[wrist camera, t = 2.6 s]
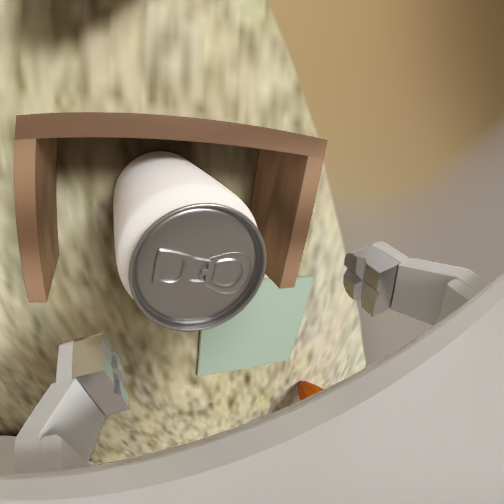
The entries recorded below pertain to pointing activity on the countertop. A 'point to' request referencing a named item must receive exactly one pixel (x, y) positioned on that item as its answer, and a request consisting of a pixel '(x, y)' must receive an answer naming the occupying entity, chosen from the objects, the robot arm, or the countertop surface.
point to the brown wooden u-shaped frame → (170, 128)
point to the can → (184, 243)
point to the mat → (256, 330)
